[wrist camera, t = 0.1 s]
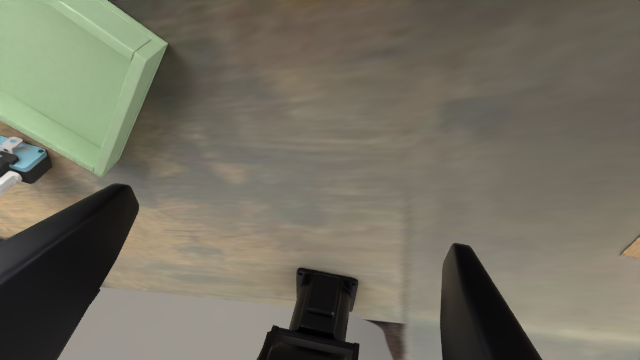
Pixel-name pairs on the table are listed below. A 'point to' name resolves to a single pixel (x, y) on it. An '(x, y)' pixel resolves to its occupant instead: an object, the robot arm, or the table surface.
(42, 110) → the tray
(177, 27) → the table surface
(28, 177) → the push button
